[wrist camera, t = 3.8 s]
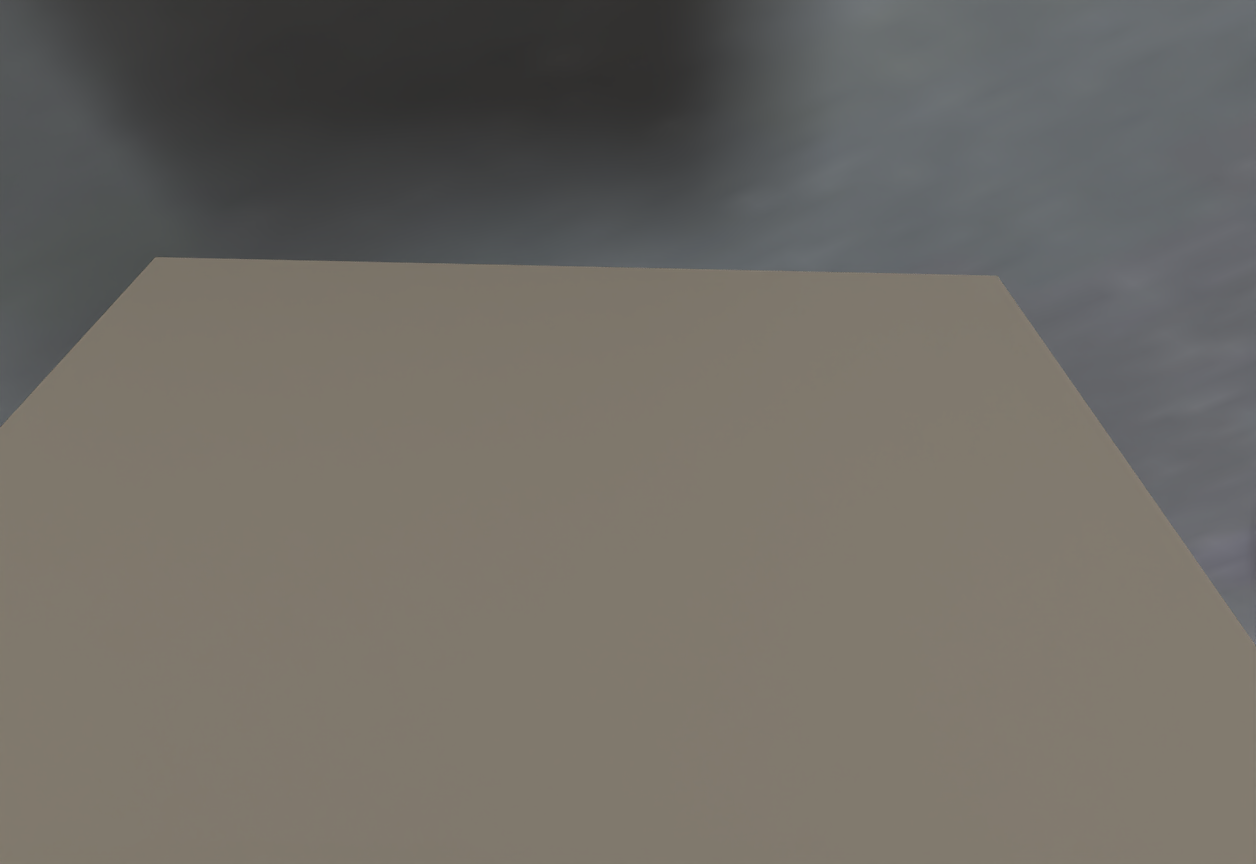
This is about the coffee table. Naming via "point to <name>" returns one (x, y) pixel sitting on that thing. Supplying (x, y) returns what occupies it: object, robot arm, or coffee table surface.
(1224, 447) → the coffee table surface
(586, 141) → the coffee table surface
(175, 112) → the coffee table surface
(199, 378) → the cream cuboid
